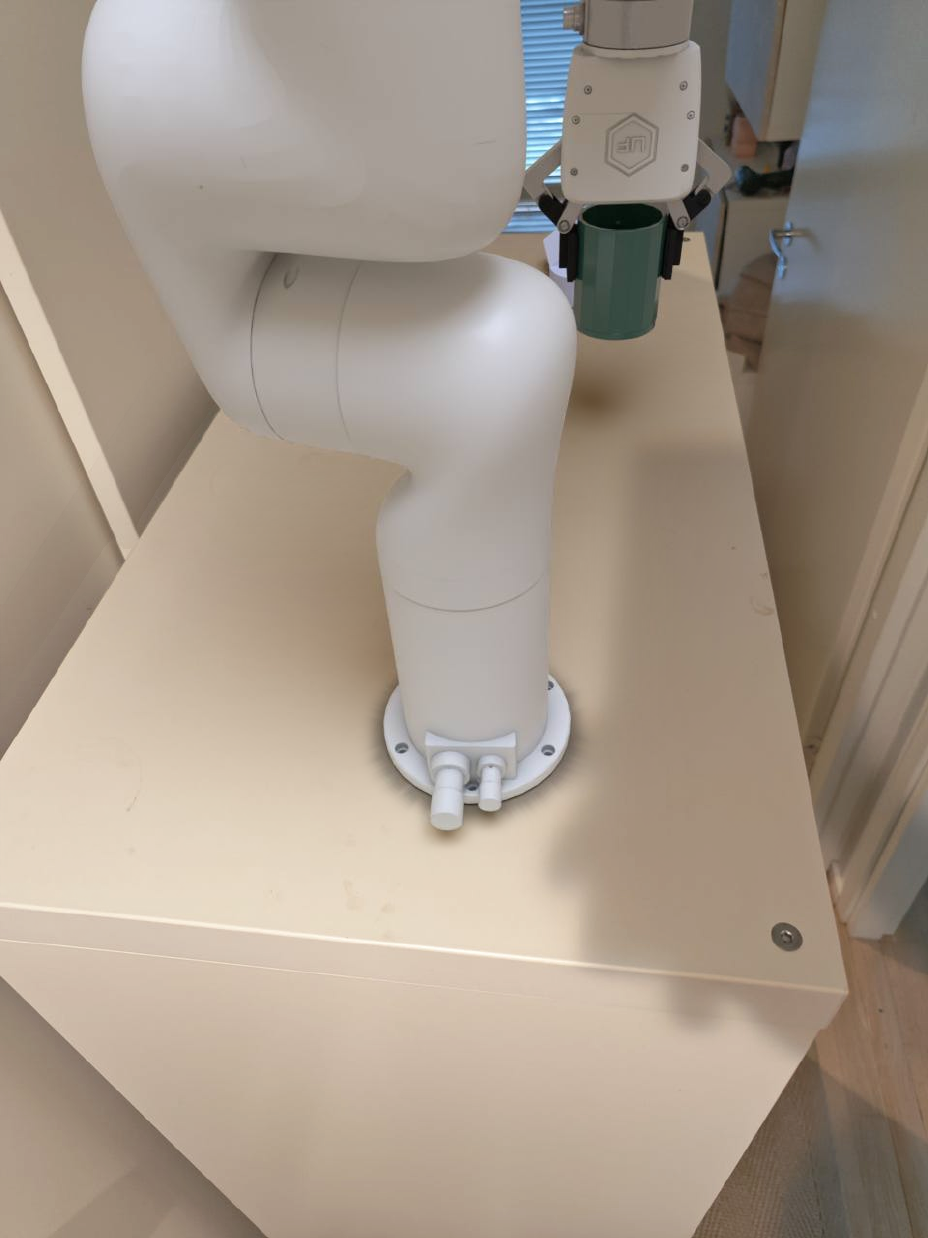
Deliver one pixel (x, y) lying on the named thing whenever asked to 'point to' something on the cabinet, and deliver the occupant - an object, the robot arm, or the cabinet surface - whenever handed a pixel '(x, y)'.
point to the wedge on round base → (554, 271)
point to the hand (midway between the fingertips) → (617, 273)
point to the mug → (618, 269)
